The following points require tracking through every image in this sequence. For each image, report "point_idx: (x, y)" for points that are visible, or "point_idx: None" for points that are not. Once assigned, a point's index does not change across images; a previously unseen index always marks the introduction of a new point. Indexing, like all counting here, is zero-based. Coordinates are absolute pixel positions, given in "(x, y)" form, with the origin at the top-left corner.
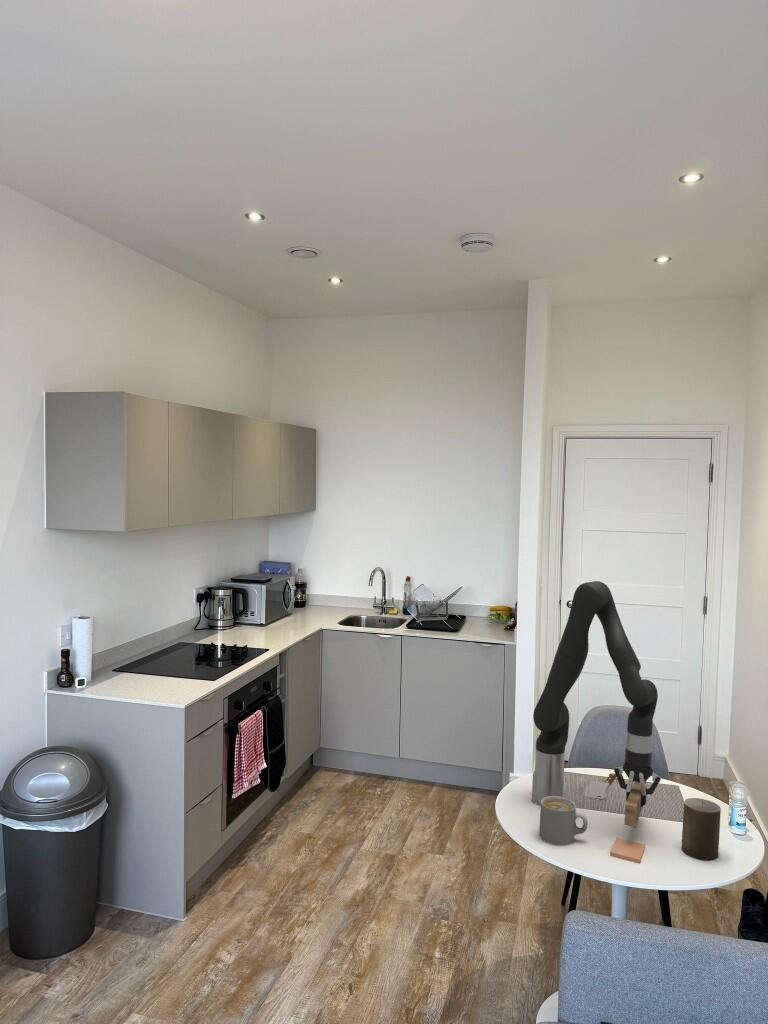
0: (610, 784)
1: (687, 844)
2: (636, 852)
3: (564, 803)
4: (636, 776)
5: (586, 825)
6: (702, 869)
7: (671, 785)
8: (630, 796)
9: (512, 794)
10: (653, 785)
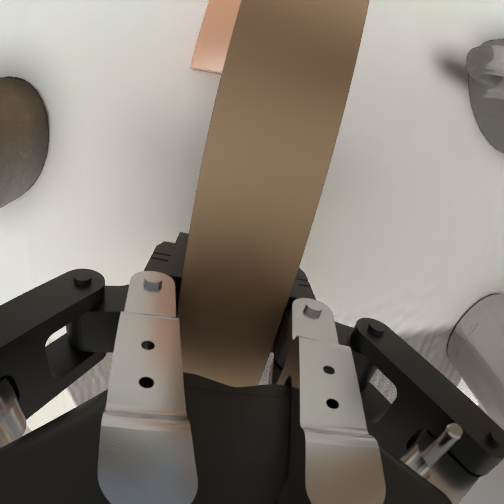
0: None
1: (13, 90)
2: None
3: None
4: (244, 450)
5: (483, 46)
6: (13, 13)
7: None
8: (307, 172)
9: None
10: (12, 325)
